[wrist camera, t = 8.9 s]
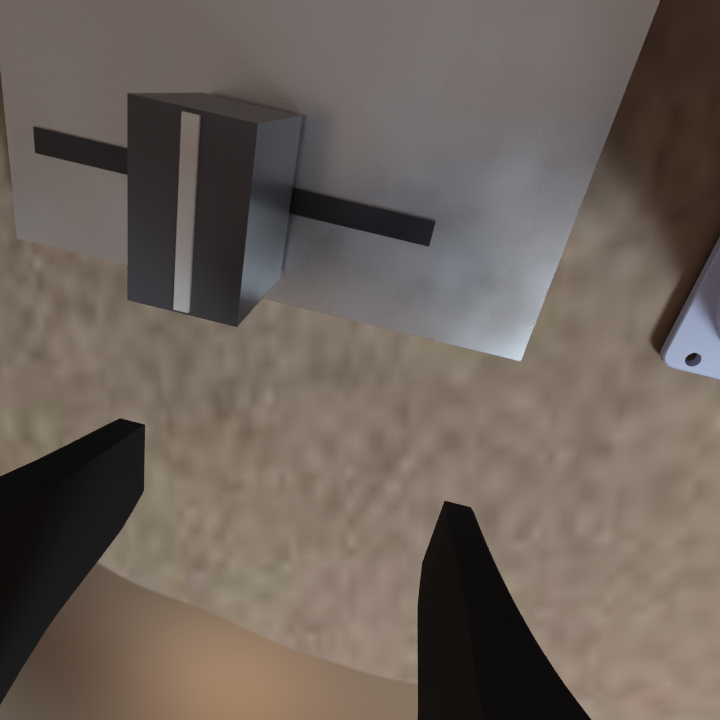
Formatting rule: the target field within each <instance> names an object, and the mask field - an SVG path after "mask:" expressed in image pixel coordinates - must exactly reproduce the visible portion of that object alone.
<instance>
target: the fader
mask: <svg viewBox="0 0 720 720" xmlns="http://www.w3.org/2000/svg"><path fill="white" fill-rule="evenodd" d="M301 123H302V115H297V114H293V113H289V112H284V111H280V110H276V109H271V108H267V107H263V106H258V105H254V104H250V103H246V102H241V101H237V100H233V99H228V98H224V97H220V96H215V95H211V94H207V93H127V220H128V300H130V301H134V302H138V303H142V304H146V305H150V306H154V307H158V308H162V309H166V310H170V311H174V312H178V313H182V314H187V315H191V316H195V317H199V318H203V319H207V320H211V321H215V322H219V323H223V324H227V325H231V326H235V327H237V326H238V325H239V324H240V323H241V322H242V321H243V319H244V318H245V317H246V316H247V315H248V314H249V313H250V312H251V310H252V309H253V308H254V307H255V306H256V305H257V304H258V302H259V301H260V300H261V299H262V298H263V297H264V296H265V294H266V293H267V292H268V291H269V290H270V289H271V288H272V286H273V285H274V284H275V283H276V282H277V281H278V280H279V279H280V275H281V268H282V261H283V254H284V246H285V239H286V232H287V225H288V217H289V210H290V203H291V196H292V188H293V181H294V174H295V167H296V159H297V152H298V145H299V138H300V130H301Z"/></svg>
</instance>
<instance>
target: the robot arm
mask: <svg viewBox="0 0 720 720" xmlns="http://www.w3.org/2000/svg"><path fill="white" fill-rule="evenodd" d="M691 353H697V355H696V357H695V358H694V359H693V360H691V361H685V358H686V357H687V356H688V355H689V354H691ZM660 356H661V359H662V360H663V361H664V363H665V364H666V365H667V366H669V367H671V368H674V369H678V370H682V371H687V372H691V373H695V374H699V375H703V376H707V377H711V378H716V379H720V237H719V239H718V241H717V243H716V245H715V246H714V248H713V250H712V252H711V254H710V256H709V258H708V260H707V262H706V264H705V266H704V268H703V270H702V272H701V273H700V275H699V277H698V279H697V281H696V283H695V285H694V287H693V289H692V291H691V293H690V295H689V297H688V298H687V300H686V302H685V304H684V306H683V308H682V310H681V312H680V314H679V316H678V318H677V320H676V322H675V324H674V325H673V327H672V329H671V331H670V333H669V335H668V337H667V339H666V341H665V343H664V345H663V347H662V349H661V352H660ZM144 450H145V425H144V424H140V423H136V422H132V421H128V420H124V419H118V420H116V421H114V422H112V423H110V424H108V425H106V426H104V427H102V428H100V429H98V430H96V431H94V432H92V433H90V434H88V435H86V436H84V437H82V438H80V439H78V440H76V441H74V442H72V443H70V444H68V445H66V446H64V447H62V448H60V449H58V450H56V451H54V452H52V453H50V454H48V455H46V456H44V457H42V458H40V459H38V460H36V461H34V462H31V463H29V464H27V465H25V466H23V467H20V468H18V469H16V470H14V471H11V472H9V473H7V474H5V475H2V476H0V704H1V702H2V701H3V699H4V697H5V696H6V694H7V692H8V691H9V689H10V687H11V686H12V684H13V682H14V681H15V679H16V677H17V676H18V674H19V672H20V671H21V669H22V667H23V666H24V664H25V663H26V661H27V659H28V658H29V656H30V655H31V653H32V652H33V650H34V648H35V647H36V645H37V643H38V642H39V640H40V639H41V637H42V635H43V634H44V632H45V631H46V629H47V628H48V626H49V625H50V624H51V622H52V621H53V619H54V618H55V616H56V615H57V613H58V612H59V611H60V609H61V608H62V607H63V606H64V604H65V603H66V601H67V600H68V599H69V598H70V596H71V595H72V594H73V592H74V591H75V590H76V589H77V587H78V586H79V585H80V583H81V582H82V581H83V579H84V578H85V577H86V575H87V574H88V573H89V572H90V570H91V569H92V567H93V566H94V565H95V564H96V562H97V561H98V560H99V559H100V557H101V556H102V555H103V553H104V552H105V551H106V549H107V548H108V547H109V545H110V544H111V543H112V541H113V540H114V539H115V537H116V536H117V535H118V533H119V532H120V531H121V529H122V528H123V526H124V524H125V523H126V521H127V519H128V518H129V516H130V514H131V513H132V511H133V509H134V507H135V506H136V504H137V502H138V500H139V499H140V497H141V495H142V493H143V491H144ZM418 720H591V719H590V718H589V716H588V715H587V714H586V712H585V711H584V710H583V708H582V707H581V706H580V704H579V703H578V702H577V700H576V699H575V698H574V697H573V695H572V694H571V693H570V691H569V690H568V689H567V687H566V686H565V684H564V683H563V681H562V680H561V679H560V677H559V676H558V674H557V673H556V671H555V670H554V668H553V667H552V665H551V664H550V662H549V661H548V659H547V657H546V656H545V654H544V653H543V651H542V650H541V648H540V646H539V645H538V643H537V641H536V640H535V638H534V636H533V635H532V633H531V631H530V630H529V628H528V626H527V624H526V623H525V621H524V619H523V617H522V615H521V614H520V612H519V610H518V608H517V606H516V604H515V603H514V601H513V599H512V597H511V595H510V593H509V591H508V589H507V587H506V585H505V583H504V581H503V579H502V577H501V575H500V573H499V570H498V568H497V566H496V564H495V562H494V560H493V558H492V555H491V553H490V551H489V548H488V546H487V544H486V542H485V539H484V537H483V534H482V532H481V529H480V527H479V524H478V522H477V519H476V517H475V514H474V512H473V510H472V509H471V507H467V506H463V505H459V504H455V503H452V502H448V501H444V504H443V507H442V510H441V513H440V515H439V518H438V521H437V524H436V526H435V529H434V532H433V535H432V537H431V540H430V543H429V546H428V548H427V551H426V554H425V557H424V560H423V562H422V570H421V579H420V588H419V598H418Z"/></svg>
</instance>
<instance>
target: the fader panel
mask: <svg viewBox="0 0 720 720" xmlns="http://www.w3.org/2000/svg"><path fill="white" fill-rule="evenodd" d="M659 2H660V0H0V72H1V82H2V92H3V102H4V112H5V123H6V133H7V143H8V153H9V163H10V173H11V184H12V194H13V204H14V214H15V224H16V234H17V239H21V240H25V241H29V242H34V243H38V244H42V245H46V246H50V247H54V248H58V249H62V250H66V251H70V252H75V253H79V254H83V255H87V256H91V257H95V258H99V259H103V260H107V261H111V262H116V263H120V264H124V265H128V220H127V93H207V94H211V95H215V96H220V97H224V98H228V99H233V100H237V101H241V102H246V103H250V104H254V105H258V106H263V107H267V108H271V109H276V110H280V111H284V112H289V113H293V114H297V115H302V123H301V130H300V138H299V145H298V152H297V159H296V167H295V174H294V181H293V188H292V196H291V203H290V210H289V217H288V225H287V232H286V239H285V246H284V254H283V261H282V268H281V275H280V279H279V280H278V281H277V282H276V283H275V284H274V285H273V286H272V288H271V289H270V290H269V291H268V292H267V293H266V294H265V296H264V297H263V299H267V300H271V301H276V302H280V303H284V304H288V305H292V306H296V307H300V308H304V309H308V310H313V311H317V312H321V313H325V314H329V315H333V316H337V317H341V318H345V319H349V320H354V321H358V322H362V323H366V324H370V325H374V326H378V327H382V328H386V329H390V330H395V331H399V332H403V333H407V334H411V335H415V336H419V337H423V338H427V339H432V340H436V341H440V342H444V343H448V344H452V345H456V346H460V347H464V348H468V349H473V350H477V351H481V352H485V353H489V354H493V355H497V356H501V357H505V358H509V359H514V360H518V361H521V359H522V356H523V354H524V351H525V349H526V346H527V343H528V341H529V338H530V336H531V333H532V330H533V328H534V325H535V323H536V320H537V318H538V315H539V312H540V310H541V307H542V305H543V302H544V299H545V297H546V294H547V292H548V289H549V287H550V284H551V281H552V279H553V276H554V274H555V271H556V268H557V266H558V263H559V261H560V258H561V256H562V253H563V250H564V248H565V245H566V243H567V240H568V237H569V235H570V232H571V230H572V227H573V224H574V222H575V219H576V217H577V214H578V212H579V209H580V206H581V204H582V201H583V199H584V196H585V193H586V191H587V188H588V186H589V183H590V181H591V178H592V175H593V173H594V170H595V168H596V165H597V162H598V160H599V157H600V155H601V152H602V149H603V147H604V144H605V142H606V139H607V137H608V134H609V131H610V129H611V126H612V124H613V121H614V118H615V116H616V113H617V111H618V108H619V106H620V103H621V100H622V98H623V95H624V93H625V90H626V87H627V85H628V82H629V80H630V77H631V74H632V72H633V69H634V67H635V64H636V62H637V59H638V56H639V54H640V51H641V49H642V46H643V43H644V41H645V38H646V36H647V33H648V31H649V28H650V25H651V23H652V20H653V18H654V15H655V12H656V10H657V7H658V5H659Z"/></svg>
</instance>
